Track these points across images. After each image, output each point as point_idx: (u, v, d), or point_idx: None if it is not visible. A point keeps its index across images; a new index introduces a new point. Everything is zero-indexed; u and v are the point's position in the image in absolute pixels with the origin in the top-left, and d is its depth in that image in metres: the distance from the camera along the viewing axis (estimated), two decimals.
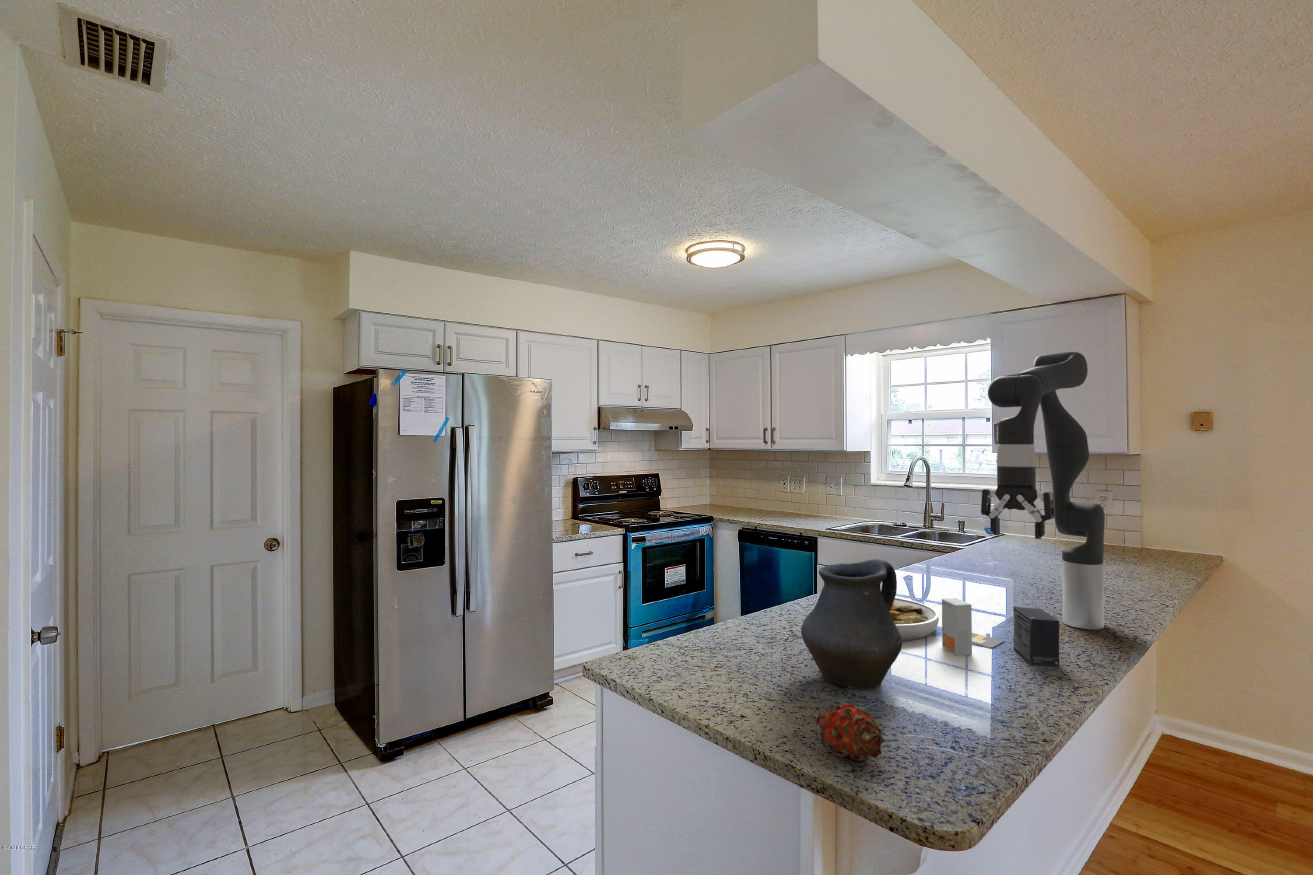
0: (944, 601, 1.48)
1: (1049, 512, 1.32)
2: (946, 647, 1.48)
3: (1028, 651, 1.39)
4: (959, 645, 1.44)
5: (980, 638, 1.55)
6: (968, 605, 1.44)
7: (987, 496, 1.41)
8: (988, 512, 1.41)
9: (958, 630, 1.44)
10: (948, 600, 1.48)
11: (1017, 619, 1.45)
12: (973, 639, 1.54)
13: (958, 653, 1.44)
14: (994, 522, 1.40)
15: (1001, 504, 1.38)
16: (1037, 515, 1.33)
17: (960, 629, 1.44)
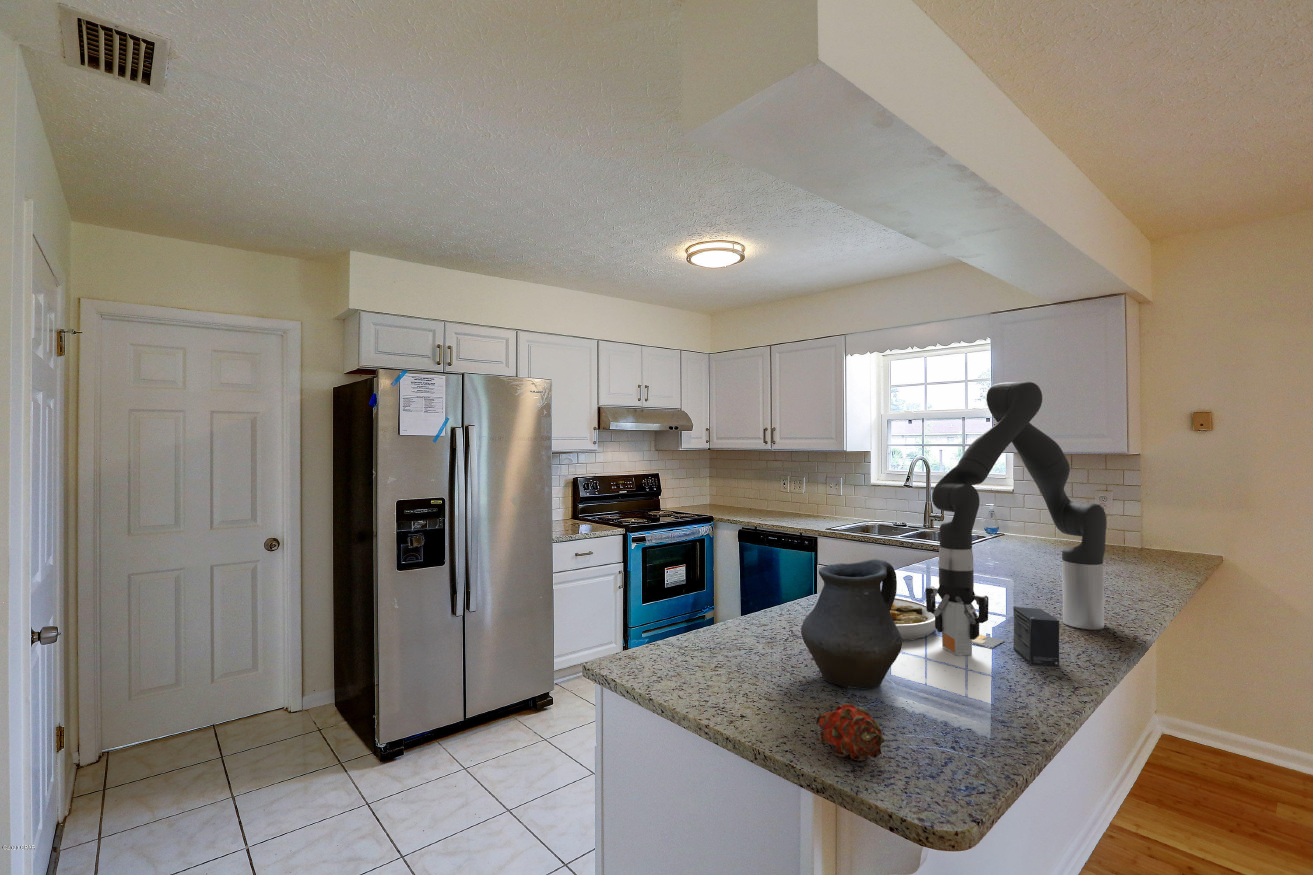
0: None
1: (982, 616, 1.41)
2: (946, 647, 1.48)
3: (1028, 651, 1.39)
4: (959, 645, 1.44)
5: (980, 638, 1.55)
6: (968, 605, 1.44)
7: (930, 594, 1.50)
8: (933, 610, 1.50)
9: (958, 630, 1.44)
10: None
11: (1017, 619, 1.45)
12: None
13: (958, 653, 1.44)
14: (938, 620, 1.49)
15: (943, 603, 1.47)
16: (972, 617, 1.43)
17: (960, 629, 1.44)
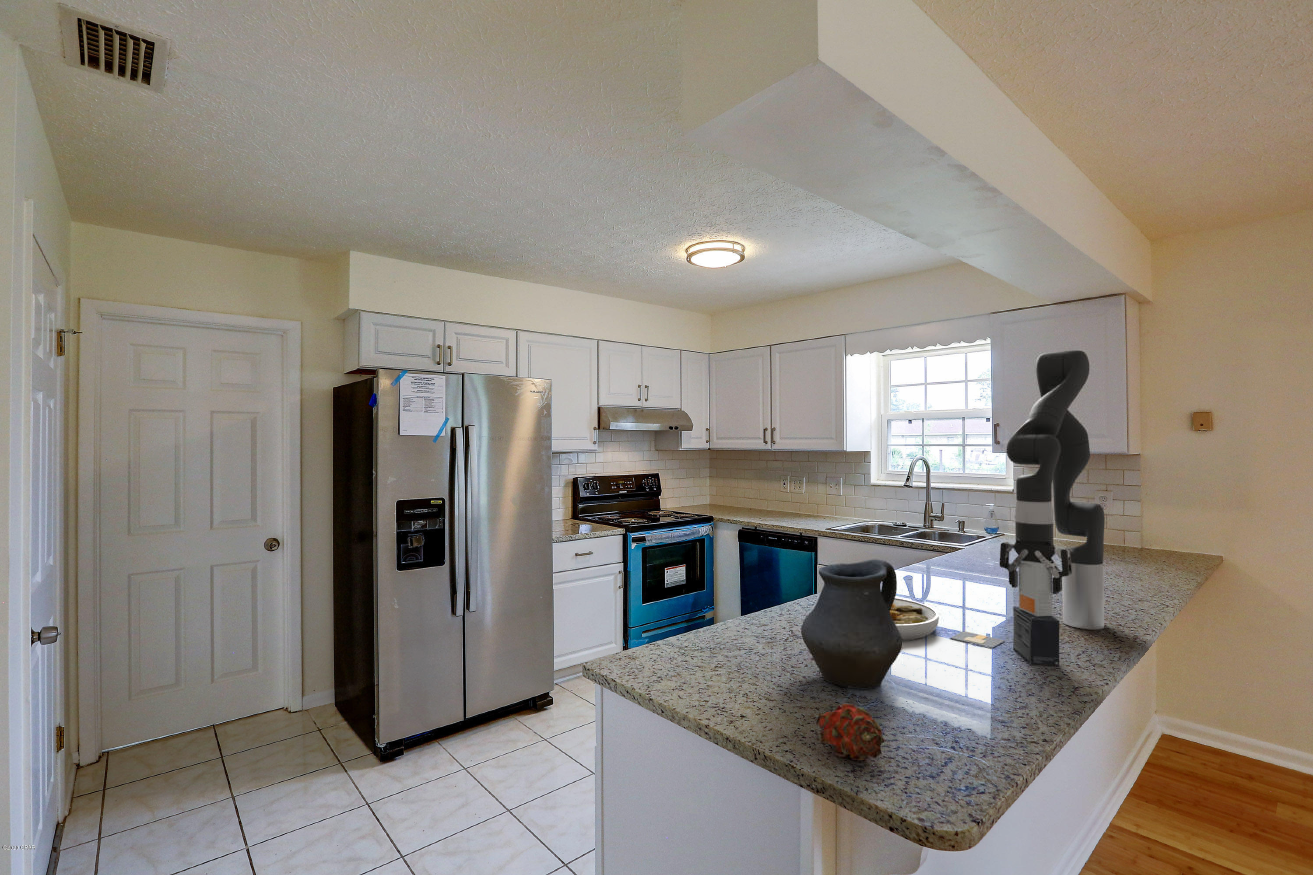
0: (1021, 561, 1.44)
1: (1067, 569, 1.36)
2: (1024, 609, 1.43)
3: (1028, 651, 1.39)
4: (1039, 605, 1.39)
5: (980, 638, 1.55)
6: None
7: (1005, 550, 1.46)
8: (1006, 565, 1.46)
9: (1039, 590, 1.39)
10: None
11: (1017, 619, 1.45)
12: (973, 639, 1.54)
13: (1038, 613, 1.39)
14: (1012, 575, 1.45)
15: (1019, 558, 1.43)
16: (1055, 571, 1.38)
17: (1041, 589, 1.39)
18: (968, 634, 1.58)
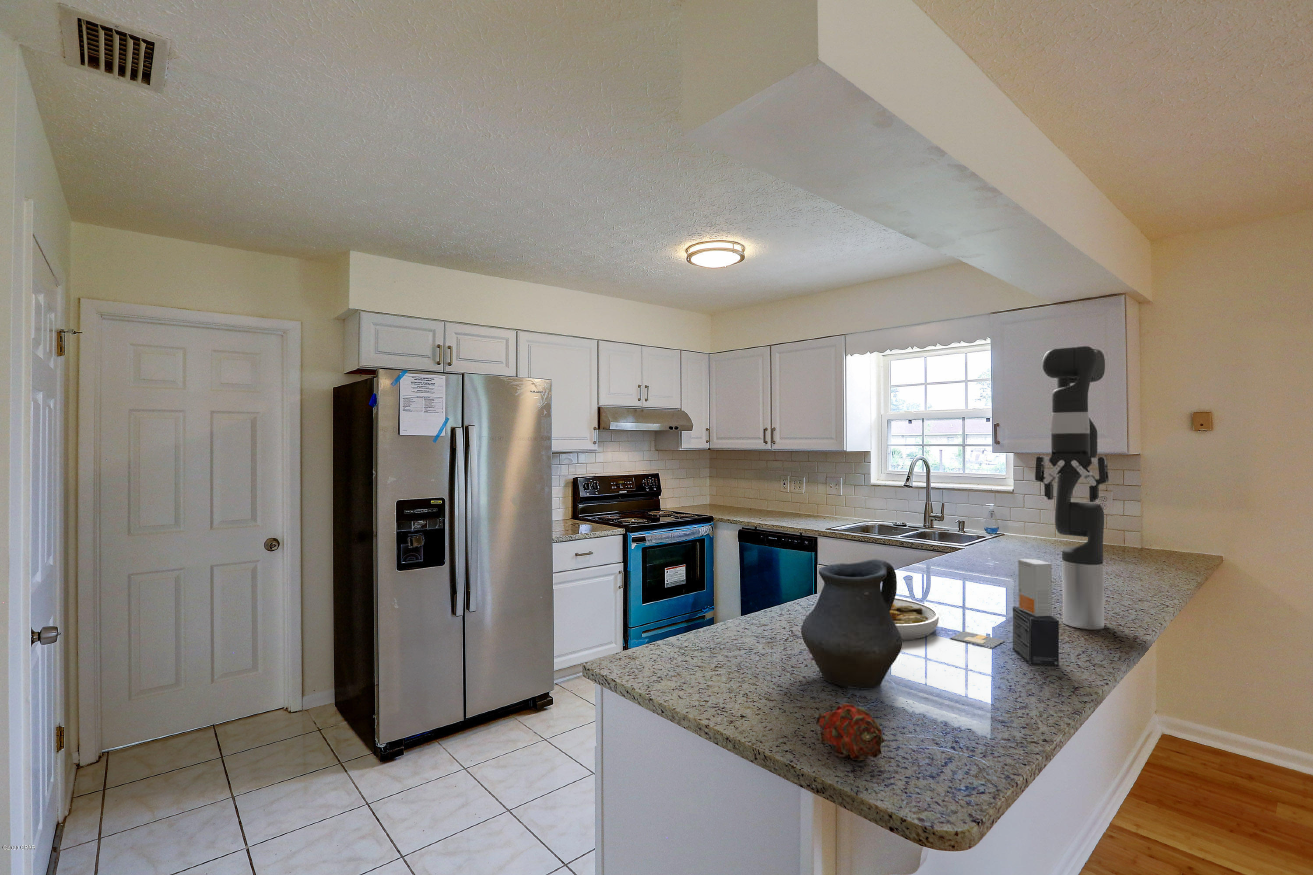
0: (1021, 561, 1.43)
1: (1104, 476, 1.38)
2: (1023, 609, 1.43)
3: (1028, 651, 1.38)
4: (1039, 605, 1.39)
5: (980, 638, 1.55)
6: (1048, 564, 1.39)
7: (1041, 463, 1.48)
8: (1042, 478, 1.48)
9: (1038, 590, 1.39)
10: (1025, 560, 1.43)
11: (1016, 619, 1.45)
12: (973, 639, 1.54)
13: (1037, 613, 1.39)
14: (1048, 487, 1.47)
15: (1055, 470, 1.45)
16: (1092, 479, 1.40)
17: (1040, 589, 1.39)
18: (968, 634, 1.58)
